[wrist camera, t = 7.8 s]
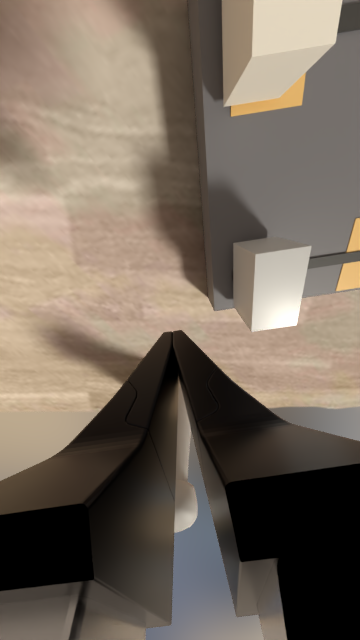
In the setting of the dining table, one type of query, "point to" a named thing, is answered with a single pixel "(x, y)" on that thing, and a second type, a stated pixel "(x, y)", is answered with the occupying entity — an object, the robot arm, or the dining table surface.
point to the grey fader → (269, 281)
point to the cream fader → (273, 44)
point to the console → (280, 159)
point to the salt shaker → (183, 472)
